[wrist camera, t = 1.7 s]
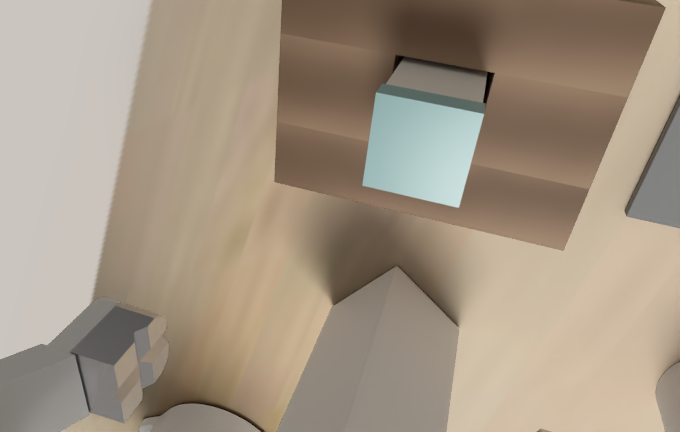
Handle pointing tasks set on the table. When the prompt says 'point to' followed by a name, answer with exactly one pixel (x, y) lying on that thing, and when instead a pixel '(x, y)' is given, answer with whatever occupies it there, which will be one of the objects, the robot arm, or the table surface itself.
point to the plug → (425, 130)
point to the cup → (669, 398)
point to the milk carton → (378, 364)
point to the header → (500, 97)
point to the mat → (661, 179)
